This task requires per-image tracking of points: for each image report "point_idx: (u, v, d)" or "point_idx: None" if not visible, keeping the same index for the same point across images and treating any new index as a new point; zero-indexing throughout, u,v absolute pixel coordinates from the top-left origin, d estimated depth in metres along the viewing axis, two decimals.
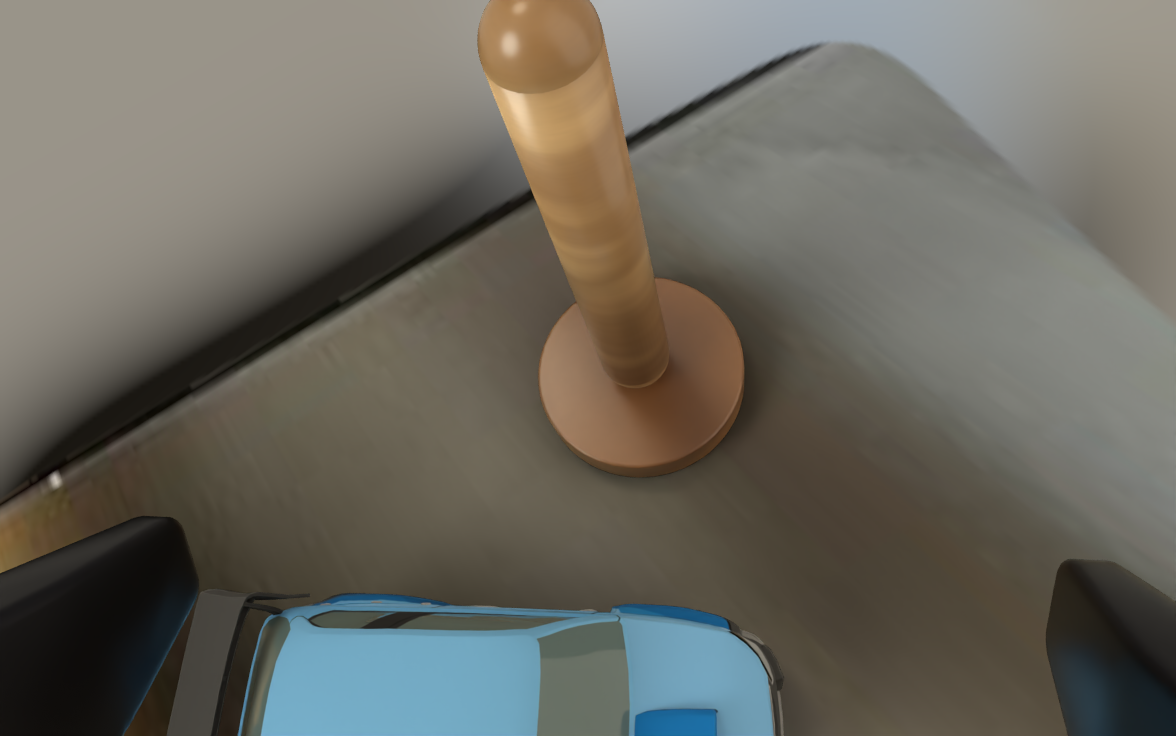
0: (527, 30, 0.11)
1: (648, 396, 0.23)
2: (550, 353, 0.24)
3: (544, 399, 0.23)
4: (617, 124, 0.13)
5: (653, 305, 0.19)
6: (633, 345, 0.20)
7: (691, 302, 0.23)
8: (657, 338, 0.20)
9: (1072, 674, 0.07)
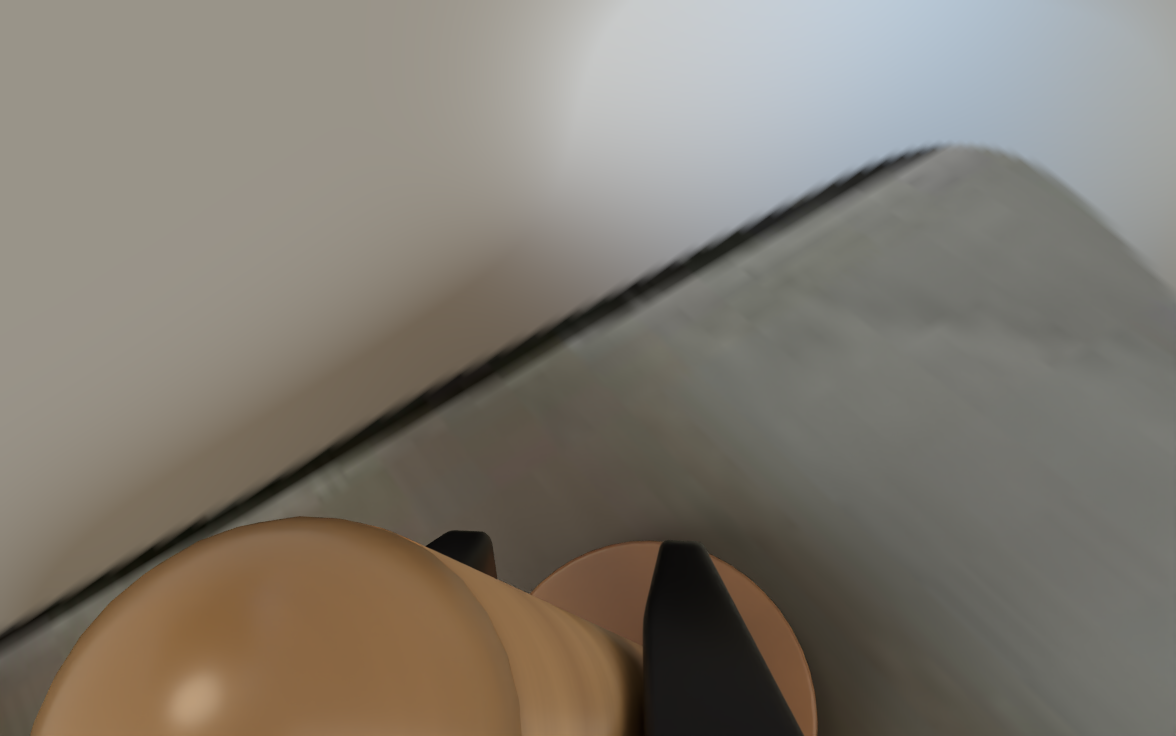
0: None
1: None
2: None
3: None
4: None
5: None
6: None
7: (733, 597, 0.15)
8: None
9: None
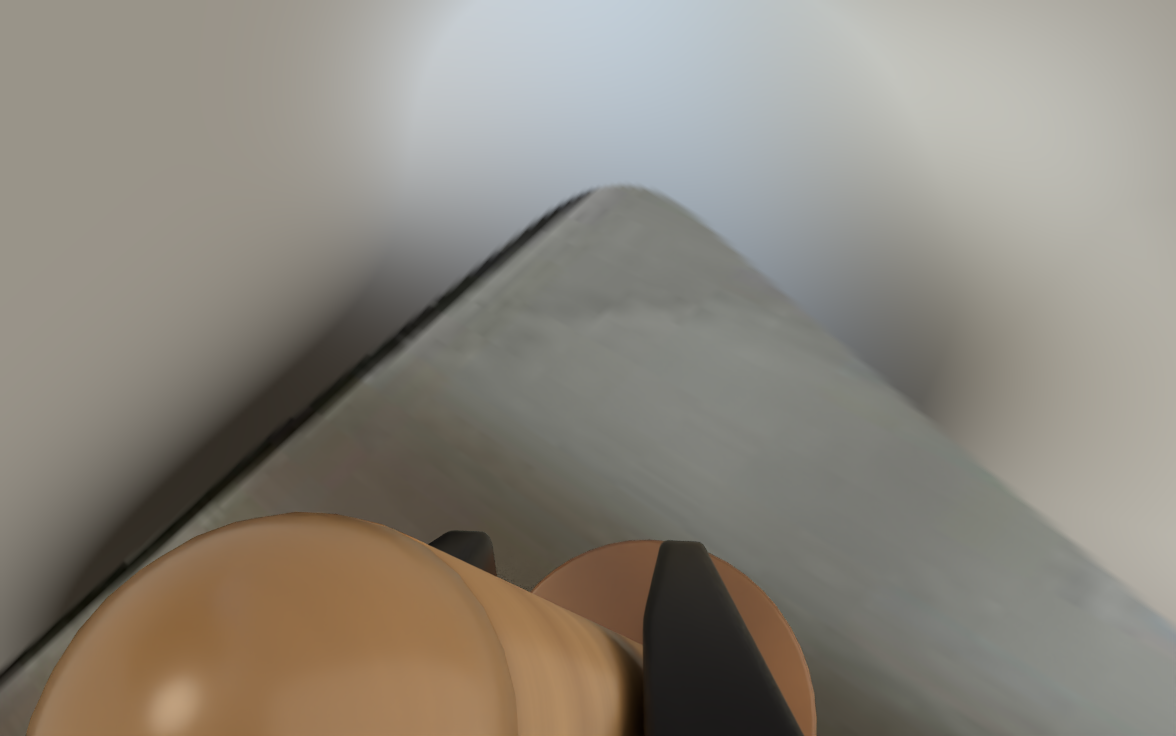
0: None
1: None
2: None
3: None
4: None
5: None
6: None
7: (732, 595, 0.15)
8: None
9: None
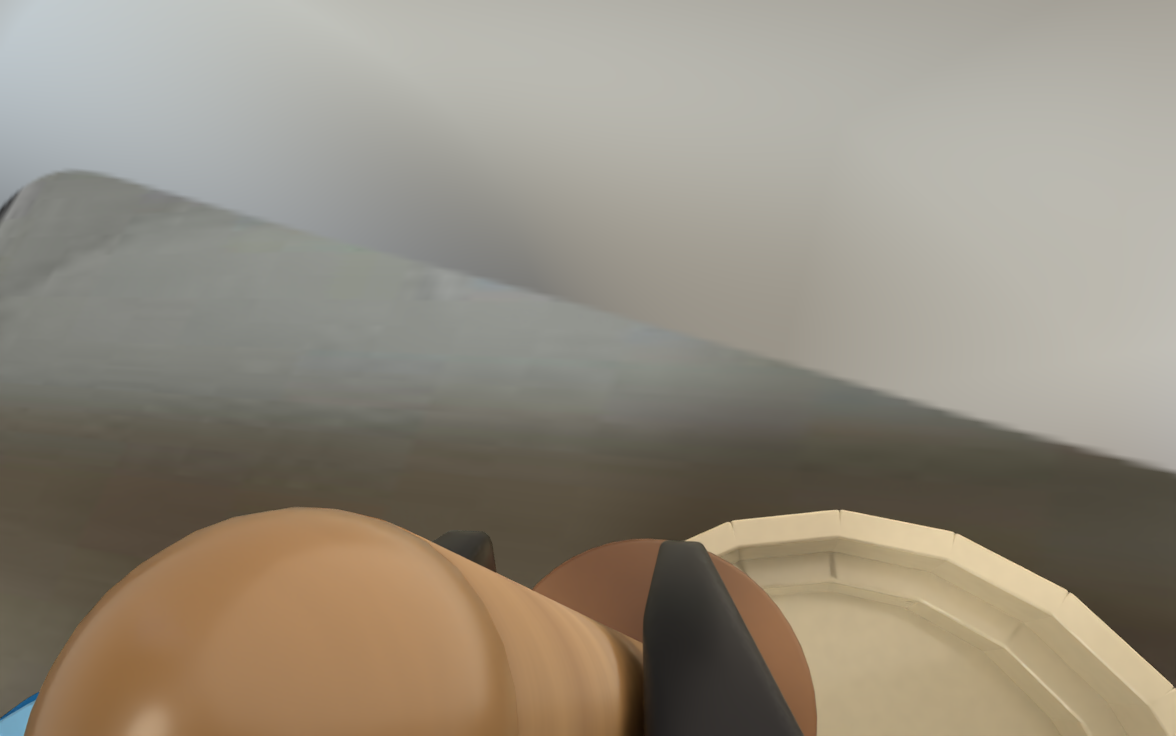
0: None
1: None
2: None
3: None
4: None
5: None
6: None
7: (732, 594, 0.15)
8: None
9: None
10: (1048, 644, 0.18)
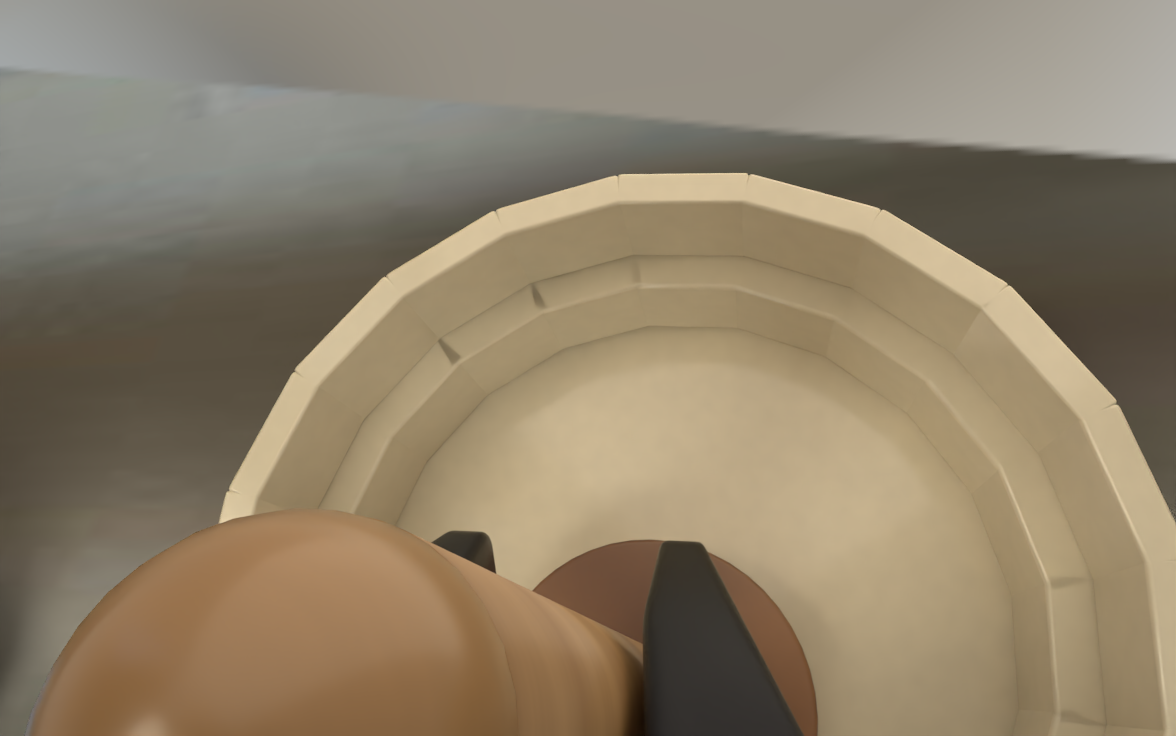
0: None
1: None
2: None
3: None
4: None
5: None
6: None
7: (733, 595, 0.15)
8: None
9: None
10: (880, 303, 0.15)
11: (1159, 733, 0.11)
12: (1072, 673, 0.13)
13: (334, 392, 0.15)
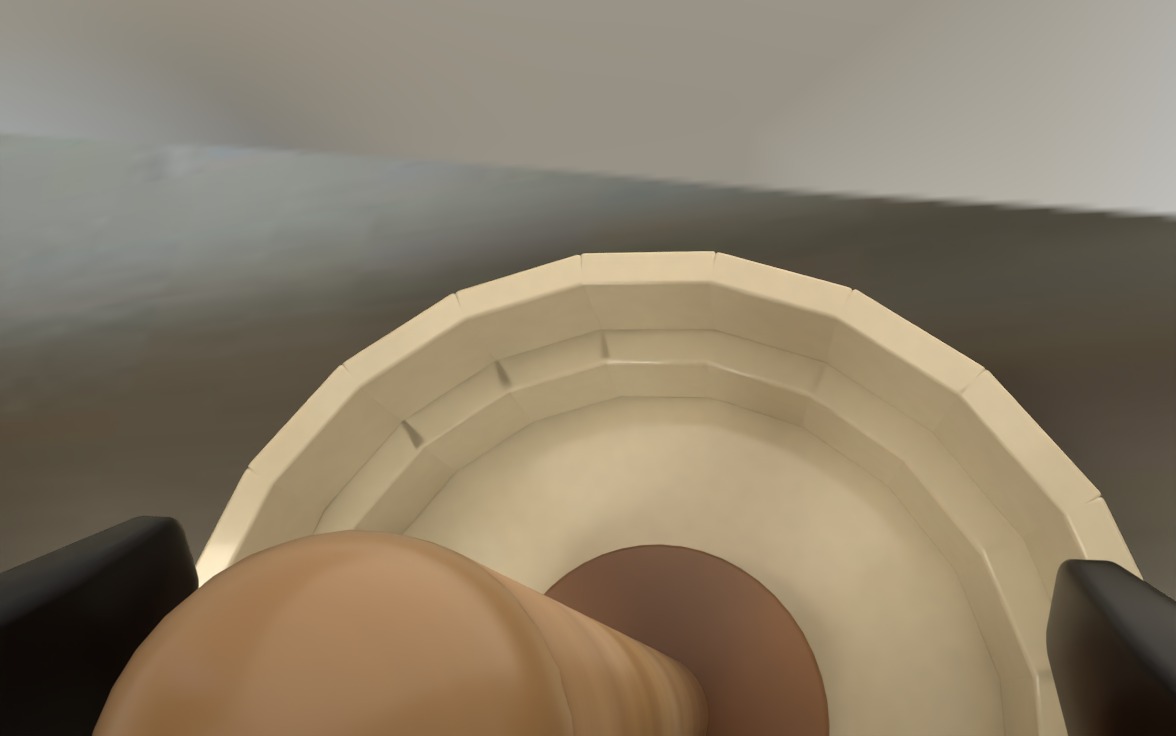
0: None
1: None
2: None
3: None
4: None
5: None
6: None
7: (744, 601, 0.15)
8: None
9: (1072, 674, 0.07)
10: (855, 379, 0.14)
11: None
12: None
13: (291, 487, 0.14)
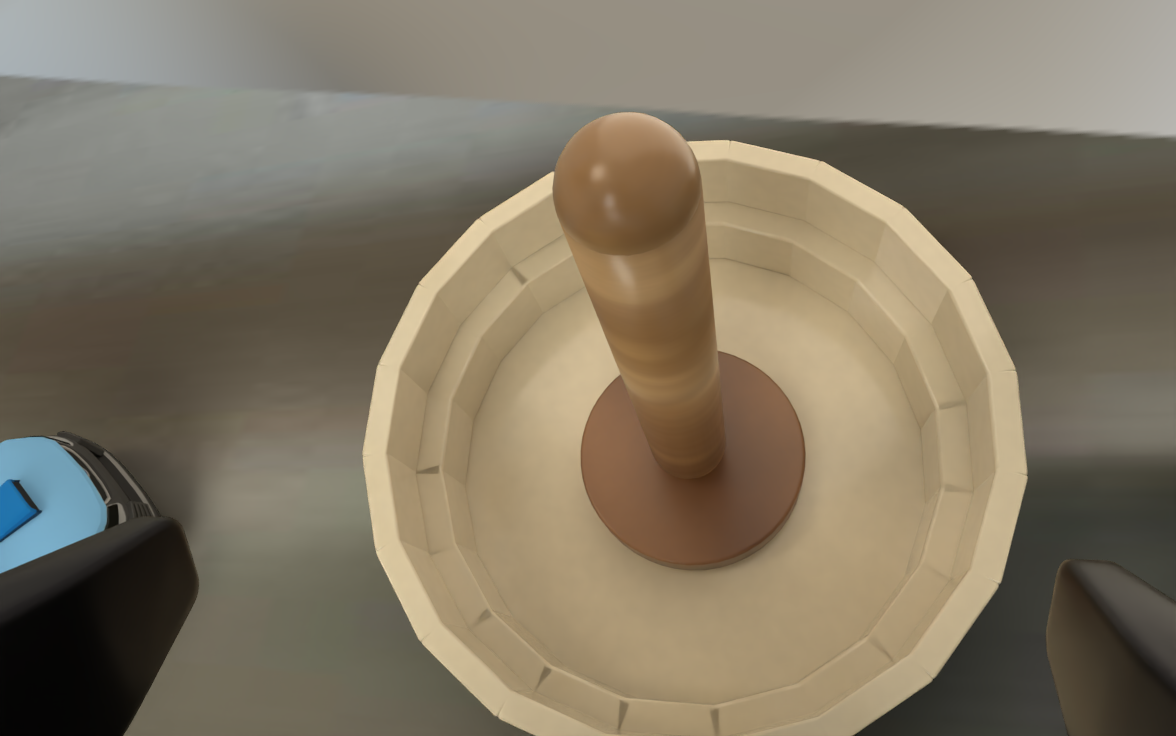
0: (616, 191, 0.09)
1: (700, 485, 0.21)
2: (594, 429, 0.22)
3: (586, 480, 0.21)
4: (705, 266, 0.12)
5: (717, 412, 0.17)
6: (691, 449, 0.18)
7: (749, 380, 0.22)
8: (717, 438, 0.18)
9: (1072, 674, 0.07)
10: (824, 229, 0.21)
11: (994, 474, 0.17)
12: (952, 461, 0.19)
13: (445, 299, 0.21)
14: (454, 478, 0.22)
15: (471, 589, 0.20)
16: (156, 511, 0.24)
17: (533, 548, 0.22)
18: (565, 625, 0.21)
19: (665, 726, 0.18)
